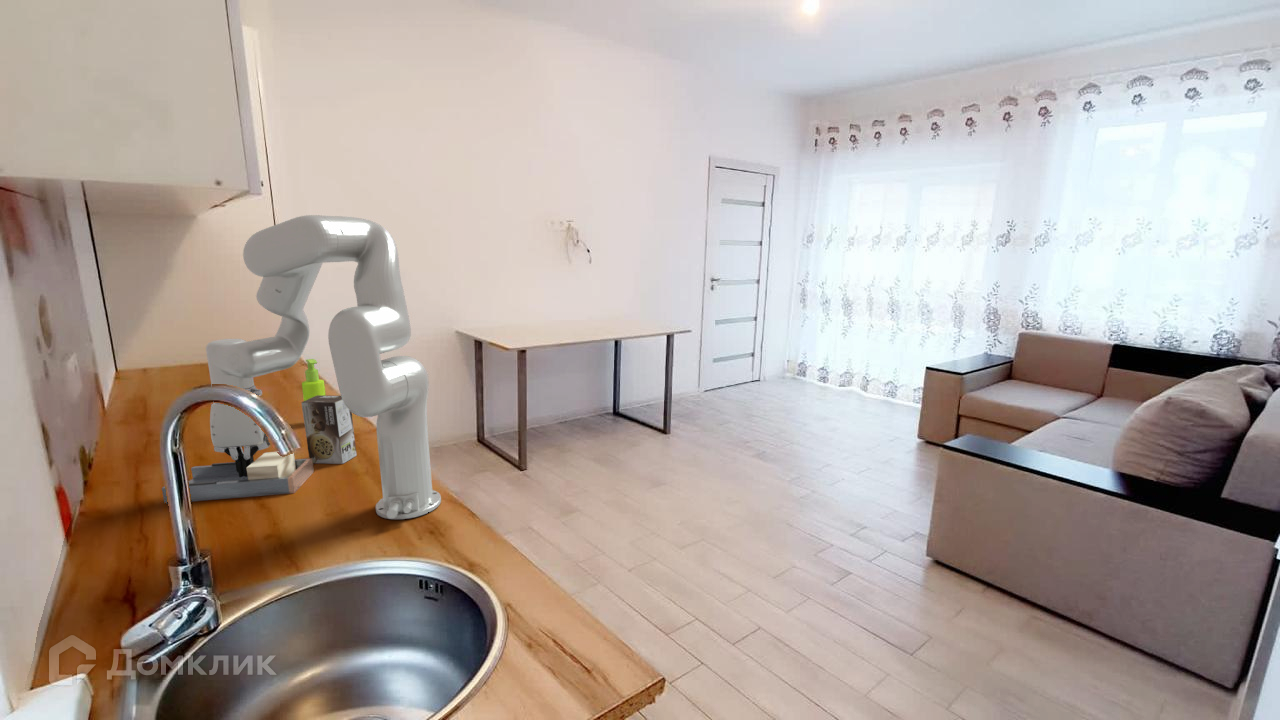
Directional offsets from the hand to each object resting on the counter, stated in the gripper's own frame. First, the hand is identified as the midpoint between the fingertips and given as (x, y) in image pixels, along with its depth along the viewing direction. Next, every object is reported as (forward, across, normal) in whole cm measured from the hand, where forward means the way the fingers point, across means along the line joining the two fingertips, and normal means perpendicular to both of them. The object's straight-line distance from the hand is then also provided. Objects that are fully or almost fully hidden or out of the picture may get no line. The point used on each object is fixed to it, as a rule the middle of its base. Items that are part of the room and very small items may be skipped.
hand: (246, 474), depth 127 cm
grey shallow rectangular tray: (+3, +1, 0) cm, 3 cm away
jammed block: (+2, -5, 0) cm, 6 cm away
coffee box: (+3, -14, -14) cm, 20 cm away
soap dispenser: (+3, 0, -47) cm, 47 cm away
